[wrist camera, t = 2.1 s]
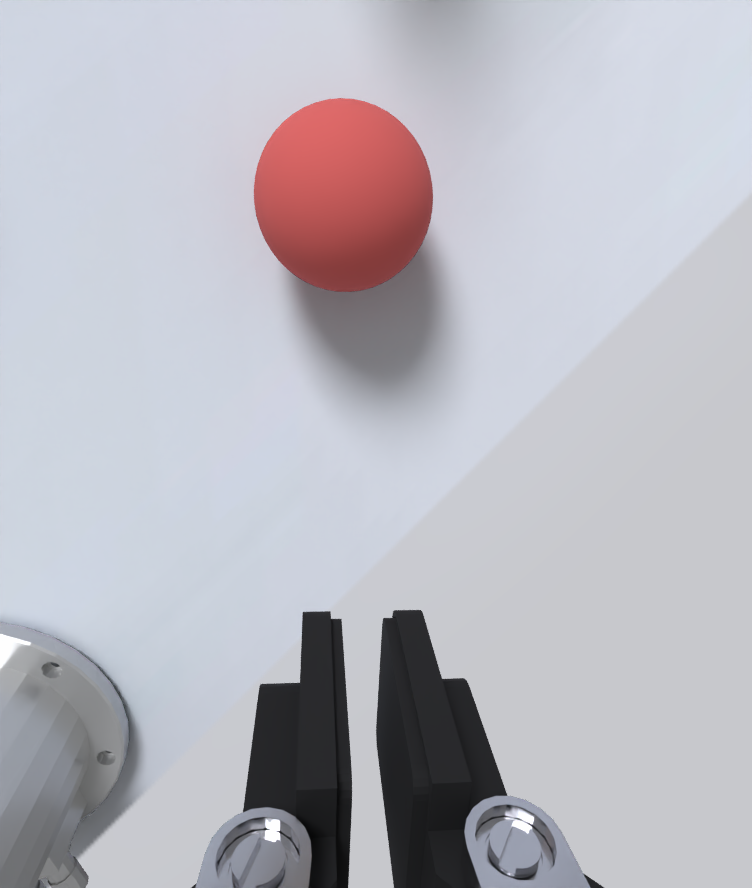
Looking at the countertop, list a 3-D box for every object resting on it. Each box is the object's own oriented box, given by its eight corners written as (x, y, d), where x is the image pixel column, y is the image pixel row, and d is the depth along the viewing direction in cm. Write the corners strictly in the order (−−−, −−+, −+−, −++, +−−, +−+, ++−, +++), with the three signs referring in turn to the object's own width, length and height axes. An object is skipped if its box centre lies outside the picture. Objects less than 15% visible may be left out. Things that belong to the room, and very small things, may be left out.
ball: (434, 259, 24) (471, 263, 18) (293, 306, 24) (286, 324, 18) (391, 97, 22) (418, 44, 16) (238, 148, 22) (210, 113, 16)
